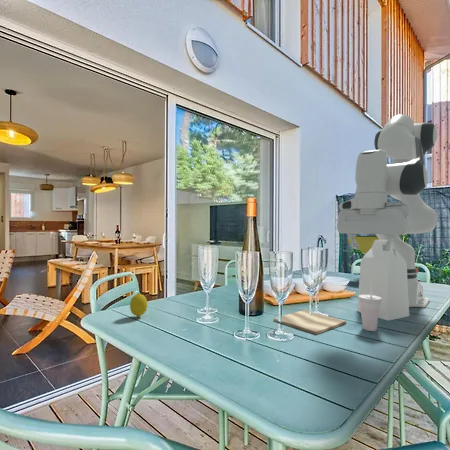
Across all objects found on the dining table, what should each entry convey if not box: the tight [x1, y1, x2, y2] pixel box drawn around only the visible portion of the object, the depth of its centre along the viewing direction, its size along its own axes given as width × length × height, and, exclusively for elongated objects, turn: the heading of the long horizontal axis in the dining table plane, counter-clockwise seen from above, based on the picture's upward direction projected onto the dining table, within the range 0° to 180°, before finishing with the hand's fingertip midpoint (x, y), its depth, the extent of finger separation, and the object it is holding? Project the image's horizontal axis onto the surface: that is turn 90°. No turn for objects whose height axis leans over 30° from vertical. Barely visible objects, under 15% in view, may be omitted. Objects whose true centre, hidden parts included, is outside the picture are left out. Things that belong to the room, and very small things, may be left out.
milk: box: [356, 240, 410, 321], centre depth 109 cm, size 12×12×26 cm
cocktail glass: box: [347, 235, 379, 282], centre depth 174 cm, size 18×18×25 cm
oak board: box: [273, 309, 347, 336], centre depth 98 cm, size 16×16×1 cm
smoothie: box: [357, 283, 382, 332], centre depth 92 cm, size 6×6×14 cm
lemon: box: [129, 292, 148, 318], centre depth 102 cm, size 6×6×8 cm
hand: (370, 249), depth 92 cm, fingers open, 8 cm apart
